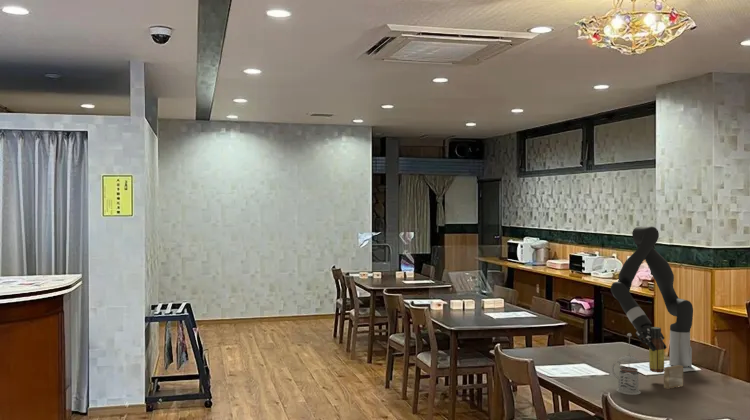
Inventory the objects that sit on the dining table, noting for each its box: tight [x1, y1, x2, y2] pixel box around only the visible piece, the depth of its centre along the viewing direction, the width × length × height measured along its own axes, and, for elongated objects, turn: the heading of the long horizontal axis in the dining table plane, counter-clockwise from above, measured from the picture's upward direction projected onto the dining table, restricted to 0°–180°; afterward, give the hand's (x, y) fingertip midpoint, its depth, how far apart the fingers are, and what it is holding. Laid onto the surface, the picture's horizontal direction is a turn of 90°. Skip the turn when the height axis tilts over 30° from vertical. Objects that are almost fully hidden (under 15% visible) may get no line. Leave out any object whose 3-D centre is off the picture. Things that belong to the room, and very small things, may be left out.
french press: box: [611, 332, 642, 396], centre depth 276 cm, size 10×12×25 cm
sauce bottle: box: [648, 326, 665, 374], centre depth 291 cm, size 7×6×20 cm
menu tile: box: [663, 365, 684, 390], centre depth 283 cm, size 2×10×9 cm, turn 118°
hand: (659, 349), depth 290 cm, fingers closed on sauce bottle, 6 cm apart
